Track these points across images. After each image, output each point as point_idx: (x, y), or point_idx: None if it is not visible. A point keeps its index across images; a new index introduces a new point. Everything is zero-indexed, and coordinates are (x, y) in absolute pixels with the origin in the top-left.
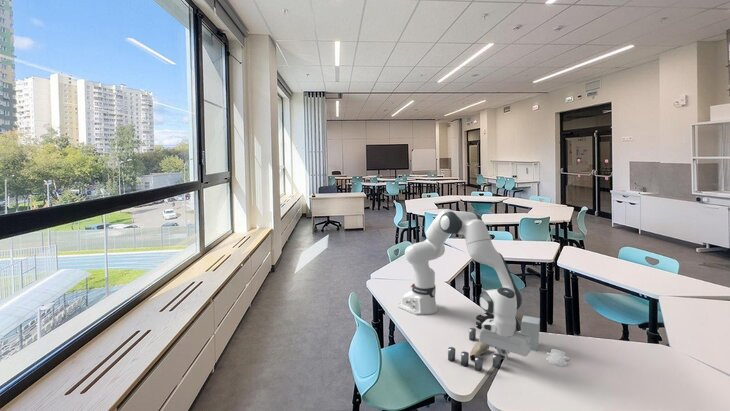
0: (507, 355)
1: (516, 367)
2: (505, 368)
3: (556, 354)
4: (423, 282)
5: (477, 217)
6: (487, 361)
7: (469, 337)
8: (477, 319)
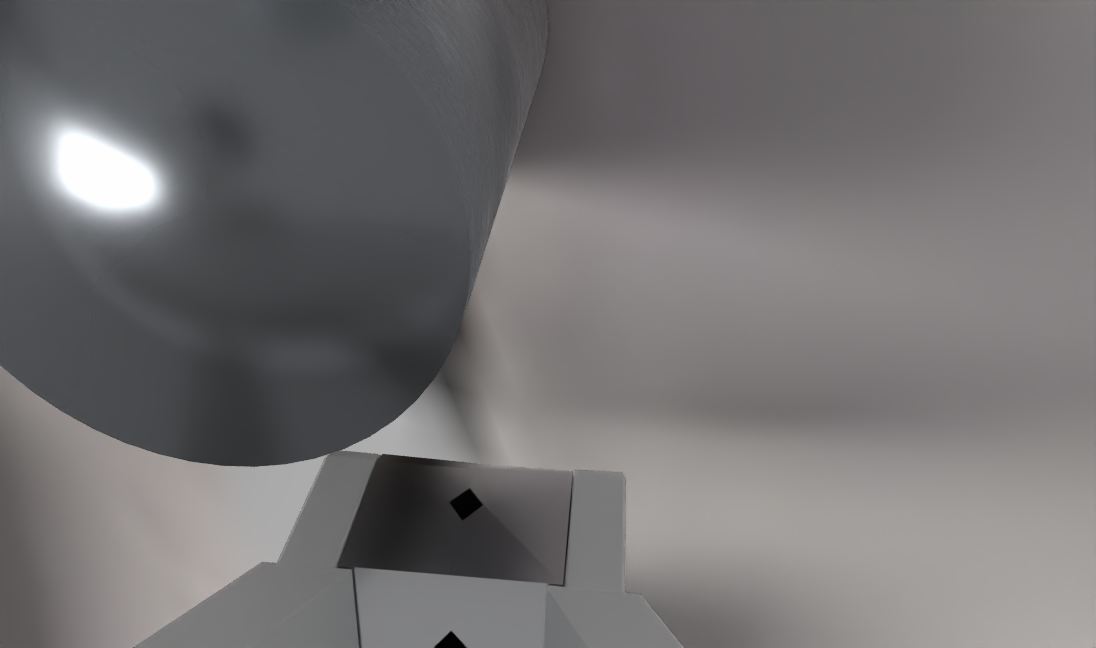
0: (537, 33)
1: (973, 451)
2: (665, 624)
3: None
4: None
5: None
6: (121, 547)
7: None
8: None
